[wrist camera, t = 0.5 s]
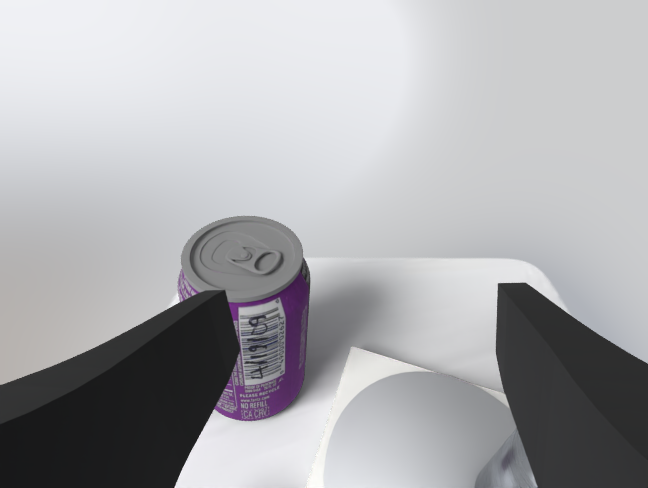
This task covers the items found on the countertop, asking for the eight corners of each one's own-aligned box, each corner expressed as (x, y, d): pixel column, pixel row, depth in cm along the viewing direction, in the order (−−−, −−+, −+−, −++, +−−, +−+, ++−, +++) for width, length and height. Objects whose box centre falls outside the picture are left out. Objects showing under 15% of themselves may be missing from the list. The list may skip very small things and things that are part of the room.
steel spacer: (566, 572, 20) (640, 537, 16) (472, 536, 20) (519, 493, 16) (557, 476, 23) (616, 427, 19) (475, 449, 24) (515, 396, 20)
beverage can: (319, 355, 31) (332, 232, 23) (276, 444, 26) (273, 326, 18) (236, 322, 33) (221, 198, 25) (180, 401, 27) (139, 275, 20)
